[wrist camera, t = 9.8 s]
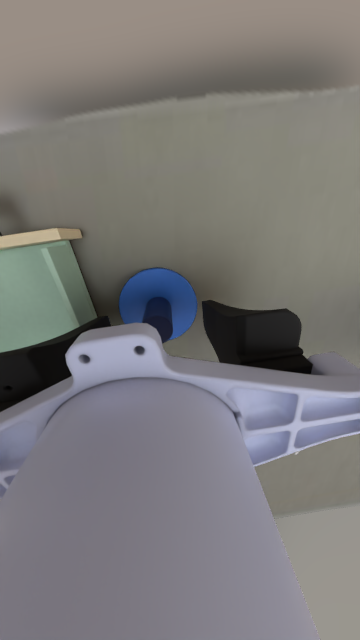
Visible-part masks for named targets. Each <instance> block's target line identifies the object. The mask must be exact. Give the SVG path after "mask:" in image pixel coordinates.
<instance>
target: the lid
mask: <svg viewBox="0 0 360 640" xmlns="http://www.w3.org/2000/svg"><path fill="white" fill-rule="evenodd" d="M119 310H120V314H121V317H122V319H123V321H124V323H125V324H130V323H147V324H149V325H151V326H152V327H154V328H156V329H157V331H158V333H159V335H160V337H161V341H162V343H164V342H166V341H168V340H171V339H174V338H176V337H178V336H180V335H182V334H183V333H184V332H186V331H187V329H188V328H189V327H190V326H191V325H192V323H193V321H194V319H195V316H196V312H197V299H196V295H195V292H194V290H193V288H192V287H191V285H190V284H189V282H188V281H187V280H186V279H185V278H184V277H183V276H181V275H180V274H178V273H177V272H175V271H172V270H169V269H165V268H149V269H145V270H143V271H140V272H138V273H137V274H135V275H134V276H132V277H131V278H130V279H129V280H128V282H127V283H126V284H125V286H124V287H123V289H122V291H121V294H120V298H119Z"/></svg>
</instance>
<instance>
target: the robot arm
mask: <svg viewBox="0 0 360 640" xmlns="http://www.w3.org/2000/svg"><path fill="white" fill-rule="evenodd" d="M202 310H203V322H204V328H205V331H206V334H207V336H208V338H209V340H210V342H211V344H212V346H213V348H214V350H215V352H216V354H217V356H218V359H219V362H220V363H219V362H212V361H204V360H197V359H189V358H182V357H174V356H170V355H168V354H167V353H166V352H165V351H164V349H163V345H162V341H161V337H160V335H159V333H158V331H157V329H156V328H154V327H152V326H151V325H149V324H147V323H130V324H124V325H117V326H111V324H110V321H109V318H108V316H103V317H98V318H95V319H93V320H91V321H89V322H87V323H85V324H83V325H81V326H80V327H78V328H76V329H73V330H71V331H69V332H67V333H65V334H63V335H61V336H58V337H56V338H53V339H50V340H47V341H44V342H41V343H38V344H35V345H31V346H28V347H24V348H20V349H15V350H11V351H6V352H1V353H0V499H1V500H0V640H320V638H319V635H318V632H317V630H316V627H315V624H314V622H313V619H312V617H311V614H310V611H309V609H308V606H307V604H306V601H305V598H304V596H303V593H302V591H301V588H300V585H299V583H298V580H297V578H296V575H295V572H294V570H293V567H292V565H291V562H290V559H289V557H288V554H287V552H286V549H285V546H284V544H283V541H282V539H281V536H280V534H279V531H278V528H277V526H276V523H275V520H274V518H273V515H272V513H271V510H270V507H269V505H268V502H267V500H266V497H265V494H264V492H263V489H262V487H261V484H260V481H259V479H258V476H257V474H256V471H255V468H254V467H256V466H258V465H261V464H264V463H267V462H269V461H272V460H275V459H278V458H281V457H283V456H286V455H289V454H292V453H294V452H297V451H300V450H303V449H305V448H308V447H311V446H314V445H317V444H320V443H323V442H326V441H330V440H334V439H337V438H341V437H345V436H350V435H355V434H360V369H359V368H358V367H356V366H355V365H353V364H352V363H350V362H349V361H347V360H346V359H344V358H343V357H342V356H340V355H339V354H337V353H336V352H328V353H322V354H316V355H312V356H310V357H309V358H308V359H306V358H305V357H304V356H303V355H302V354H303V350H302V349H301V348H300V347H298V346H299V340H300V335H301V322H300V319H299V318H298V316H297V315H296V314H294V313H292V312H291V311H289V310H288V309H277V310H244V309H238V308H233V307H230V306H226V305H223V304H220V303H218V302H215V301H212V300H208V301H202Z"/></svg>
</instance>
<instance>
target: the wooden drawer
mask: <svg viewBox="0 0 360 640" xmlns="http://www.w3.org/2000/svg"><path fill="white" fill-rule="evenodd" d="M81 238H82V235H81V232H80V229H66V228H53V229H46V230H39V231H32V232H25V233H19V234H12V235H5V236H2V235H1V233H0V353H1V352H6V351H11V350H15V349H20V348H24V347H28V346H31V345H35V344H38V343H41V342H44V341H47V340H50V339H53V338H56V337H58V336H61V335H63V334H65V333H67V332H69V331H71V330H73V329H76V328H78V327H80V326H81V325H83V324H85V323H87V322H89V321H91V320H93V319H95V318H97V315H96V312H95V309H94V307H93V304H92V301H91V299H90V296H89V293H88V290H87V288H86V285H85V282H84V280H83V277H82V274H81V271H80V269H79V266H78V263H77V261H76V258H75V255H74V252H73V250H72V247H71V244H70V242H69V241H68V240H74V239H81Z"/></svg>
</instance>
